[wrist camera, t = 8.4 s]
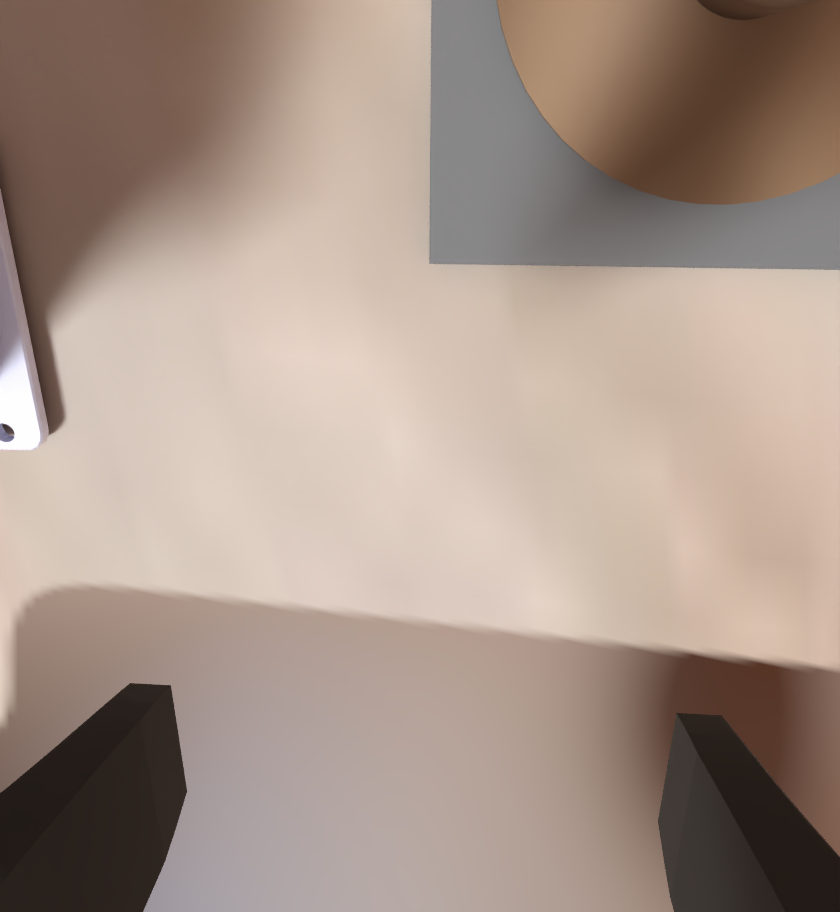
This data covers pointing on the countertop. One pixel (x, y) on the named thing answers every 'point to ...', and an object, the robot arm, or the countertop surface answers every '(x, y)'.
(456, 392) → the countertop surface
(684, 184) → the lid
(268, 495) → the countertop surface
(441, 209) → the mat
